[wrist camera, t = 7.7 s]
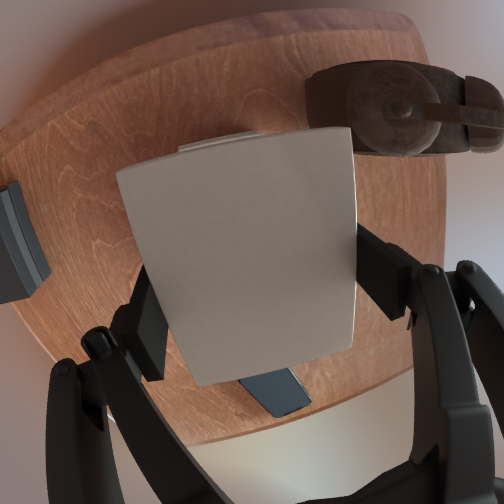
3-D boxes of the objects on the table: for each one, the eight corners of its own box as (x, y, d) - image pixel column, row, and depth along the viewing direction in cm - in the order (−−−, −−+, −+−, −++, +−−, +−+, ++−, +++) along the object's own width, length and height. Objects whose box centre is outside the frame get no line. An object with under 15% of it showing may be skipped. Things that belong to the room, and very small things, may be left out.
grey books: (-12, 195, 22) (-40, 210, 17) (18, 178, 23) (-12, 192, 17) (21, 280, 28) (0, 306, 22) (52, 272, 28) (31, 299, 23)
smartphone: (282, 358, 38) (314, 403, 44) (279, 350, 39) (311, 396, 46) (235, 379, 38) (275, 420, 45) (233, 371, 40) (273, 413, 46)
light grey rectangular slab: (123, 167, 11) (114, 172, 10) (336, 126, 12) (350, 127, 11) (196, 369, 17) (197, 387, 16) (343, 333, 18) (352, 348, 17)
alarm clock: (392, 76, 25) (542, 76, 7) (399, 134, 28) (547, 174, 10) (274, 78, 24) (404, 14, 6) (285, 146, 27) (425, 196, 9)
